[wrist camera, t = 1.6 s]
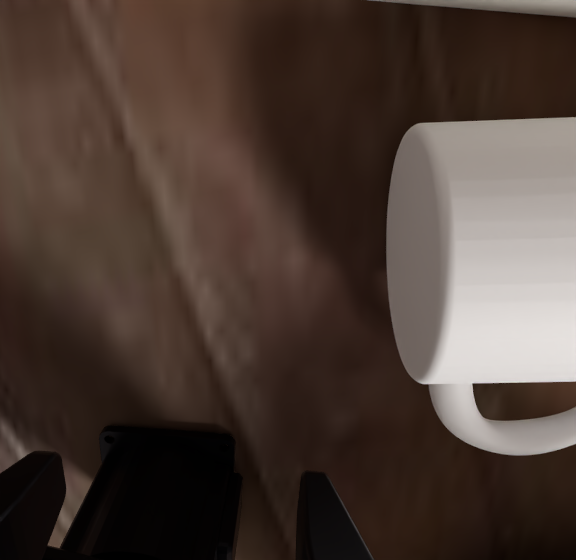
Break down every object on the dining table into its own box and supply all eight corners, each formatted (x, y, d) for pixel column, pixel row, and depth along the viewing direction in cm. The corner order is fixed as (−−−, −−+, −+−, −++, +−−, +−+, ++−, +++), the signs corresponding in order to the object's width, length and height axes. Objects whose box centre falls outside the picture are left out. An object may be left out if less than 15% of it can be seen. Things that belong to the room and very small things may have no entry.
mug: (390, 112, 17) (458, 143, 10) (675, 101, 17) (968, 125, 9) (377, 386, 22) (416, 544, 15) (598, 382, 22) (750, 542, 14)
